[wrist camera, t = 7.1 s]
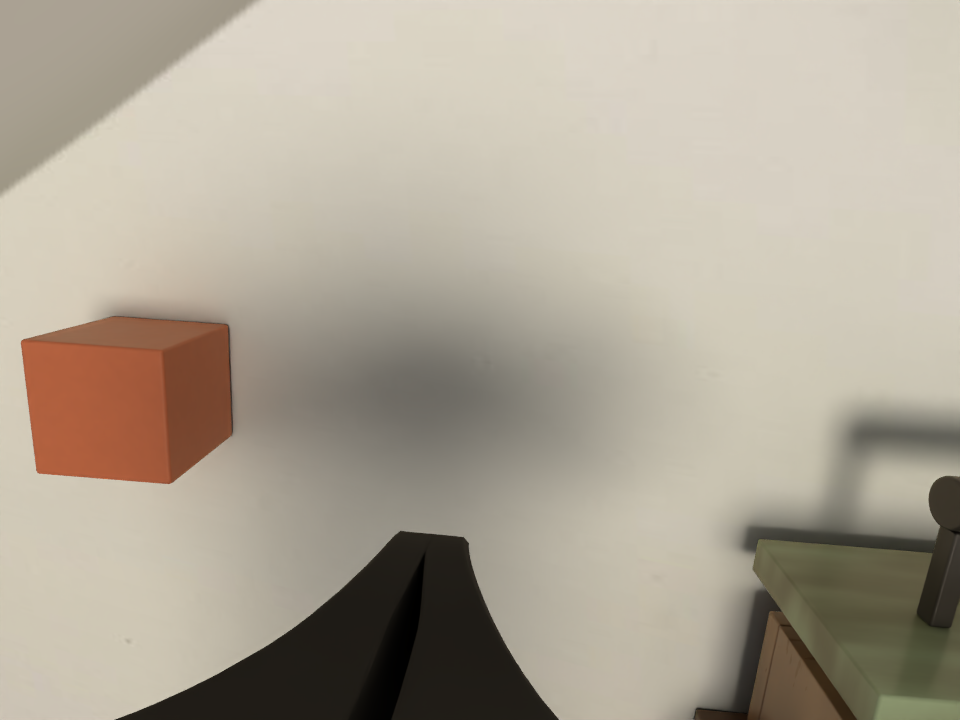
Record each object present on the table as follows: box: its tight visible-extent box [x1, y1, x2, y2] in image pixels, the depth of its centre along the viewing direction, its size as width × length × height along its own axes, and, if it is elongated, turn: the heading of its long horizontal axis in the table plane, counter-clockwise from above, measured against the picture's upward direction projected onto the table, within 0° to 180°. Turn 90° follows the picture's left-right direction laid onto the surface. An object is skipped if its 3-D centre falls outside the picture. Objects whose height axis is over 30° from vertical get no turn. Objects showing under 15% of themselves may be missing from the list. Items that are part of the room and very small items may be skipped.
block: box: [21, 316, 232, 484], centre depth 19 cm, size 4×4×4 cm
